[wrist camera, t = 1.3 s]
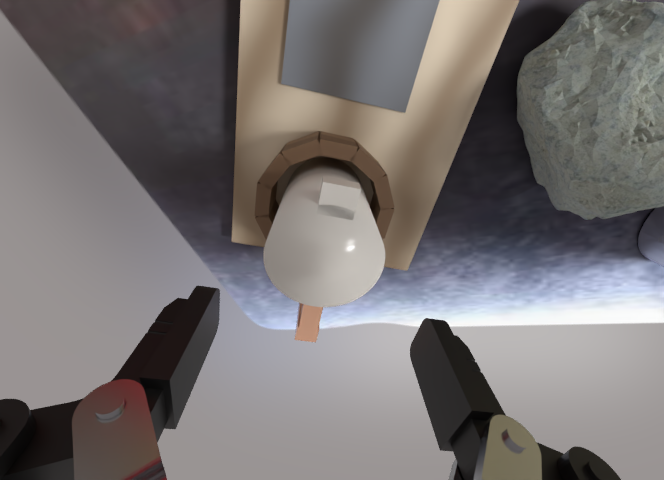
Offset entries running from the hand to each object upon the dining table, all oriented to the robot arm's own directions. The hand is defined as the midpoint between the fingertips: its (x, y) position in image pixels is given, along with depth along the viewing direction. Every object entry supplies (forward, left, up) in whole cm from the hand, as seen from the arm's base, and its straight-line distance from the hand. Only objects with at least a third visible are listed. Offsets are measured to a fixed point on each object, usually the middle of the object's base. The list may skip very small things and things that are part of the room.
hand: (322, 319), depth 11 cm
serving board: (-1, -6, -16) cm, 17 cm away
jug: (0, +1, -14) cm, 14 cm away
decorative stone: (-17, -10, -16) cm, 25 cm away
